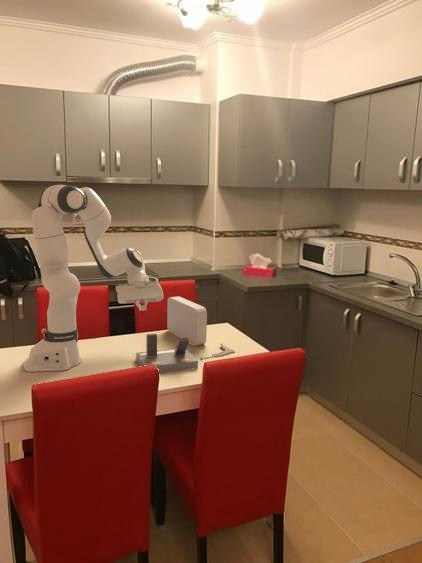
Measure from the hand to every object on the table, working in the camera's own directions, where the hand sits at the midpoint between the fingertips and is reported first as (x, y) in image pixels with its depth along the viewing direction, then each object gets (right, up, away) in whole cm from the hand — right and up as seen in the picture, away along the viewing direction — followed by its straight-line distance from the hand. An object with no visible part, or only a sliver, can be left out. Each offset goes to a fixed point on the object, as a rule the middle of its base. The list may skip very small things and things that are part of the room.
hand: (143, 309), depth 201 cm
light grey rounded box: (+17, -15, +24) cm, 34 cm away
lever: (+16, -18, -7) cm, 25 cm away
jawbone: (+31, -20, +5) cm, 37 cm away
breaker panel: (+11, -22, -10) cm, 26 cm away
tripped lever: (+5, -18, -12) cm, 22 cm away
